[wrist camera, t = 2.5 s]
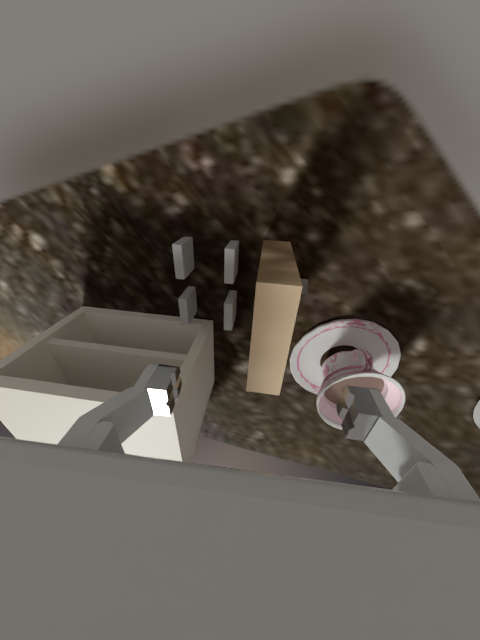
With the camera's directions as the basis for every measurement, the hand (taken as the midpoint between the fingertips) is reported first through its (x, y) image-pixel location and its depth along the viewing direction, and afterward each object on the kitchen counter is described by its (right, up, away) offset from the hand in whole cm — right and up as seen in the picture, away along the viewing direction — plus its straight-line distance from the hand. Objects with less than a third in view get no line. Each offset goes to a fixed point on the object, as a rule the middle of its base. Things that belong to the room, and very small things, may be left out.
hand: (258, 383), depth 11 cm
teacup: (+11, -1, +15) cm, 19 cm away
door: (+2, +7, +11) cm, 13 cm away
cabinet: (-11, +3, +15) cm, 19 cm away
